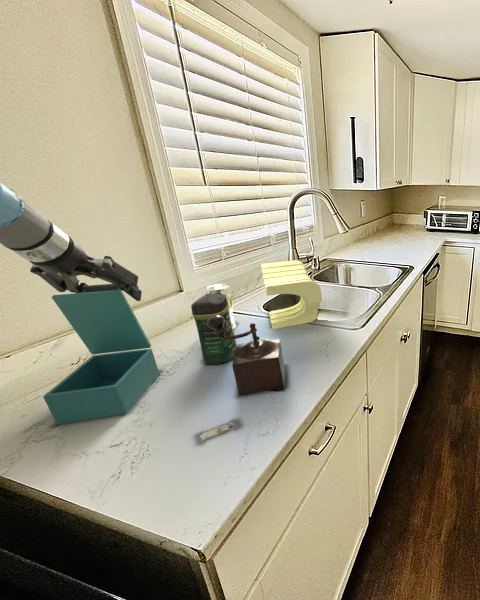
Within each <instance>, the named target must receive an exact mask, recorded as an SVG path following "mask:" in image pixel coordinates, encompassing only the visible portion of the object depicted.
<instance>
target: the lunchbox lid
mask: <svg viewBox="0 0 480 600" xmlns="http://www.w3.org/2000/svg"><path fill="white" fill-rule="evenodd" d="M87 285H88V286H83V287H82V292H81V293H62V294H61V293H60V294H53V295H52V296H51V299H52V300H53V301H54V303H55V305H56V306H57V308H58V309H59V310H60V311H61V313H62V314H63V316H64V318H65V319H66V321H67V322H68V323H69V324H70V326H71V327H72V328H73V330H74V331H75V333H76V334H77V336H78V337H79V338H80V340H81V341H82V343H83V344H84V346H85V347H86V348H87V350H88V352H90V354H91V355H92V356H93V355H100V354H109V353H118V352H126V351H135V350H143V349H152V344H151V342H150V341H149V338H148V336H147V335H146V332H145V331H144V329H143V327H142V325H141V324H140V322H139V320H138V318H137V316H136V314H135V313H134V310H133V309H132V307H131V306H130V304H129V302H128V300H127V298H126V295H125V294H124V293H123V292H124V291H123V290H122V287H120V286H118V285H115V284H112V283H103V284H91V285H89V284H87Z"/></svg>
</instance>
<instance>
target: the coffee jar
mask: <svg viewBox="0 0 480 600" xmlns="http://www.w3.org/2000/svg"><path fill="white" fill-rule="evenodd" d="M190 305H191V306H190V308H191V313H192V317H193V320H194V322H195V326H196V330H197V334H198V339H199V344H200V350H201V355H202V359H203V362H204V363H206V364H211V365H219V364H222V363H225V362H229V361H231V360H233V358H234V355H235V352H236V350H237V346H238V344H237V342H236V339H234V340H228V341H225V340H222V339H221V337H220V335H215V330H214V329H212V328H210V327H208V325H207V320H208V319H209V318H210V317H212V316H214V315H221V316H223V317H224V319H225V322H224V327H225V328H226V329H227V331H226V333H225V334H224V335H225V336H226V337H231V336H235V334H234V333H235V332H234V329H232V325H231V320H230V315H229V307H228V302H227V298H226V296H225V295H223V294H222V293H207V292H206V293H205V294H204V295H202V296H201V297H199V298H197V300H195V301H194V302H193V303H192V304H190Z"/></svg>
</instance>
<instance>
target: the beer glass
mask: <svg viewBox="0 0 480 600" xmlns="http://www.w3.org/2000/svg"><path fill="white" fill-rule="evenodd" d="M205 290H206V294H207V293H222V294H223V295H225V296H226V298H227V302H228V307H229V315H230V320H231V325H232V329H233V330H234V329H236V328H237V324H236V322H235V319H234V313H233V309H234V308H233V298H232V297H233V296H232V292H231V289H230V286H229V284H227V283H215V284H211V285H209V286H207V287H206V288H205Z"/></svg>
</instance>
